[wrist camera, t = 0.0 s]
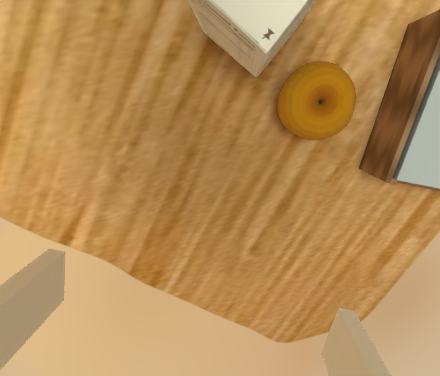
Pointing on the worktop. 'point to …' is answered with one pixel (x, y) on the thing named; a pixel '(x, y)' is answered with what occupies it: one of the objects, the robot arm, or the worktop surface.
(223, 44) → the supplement box
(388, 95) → the box
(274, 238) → the worktop surface
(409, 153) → the cover plate
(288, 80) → the apple
